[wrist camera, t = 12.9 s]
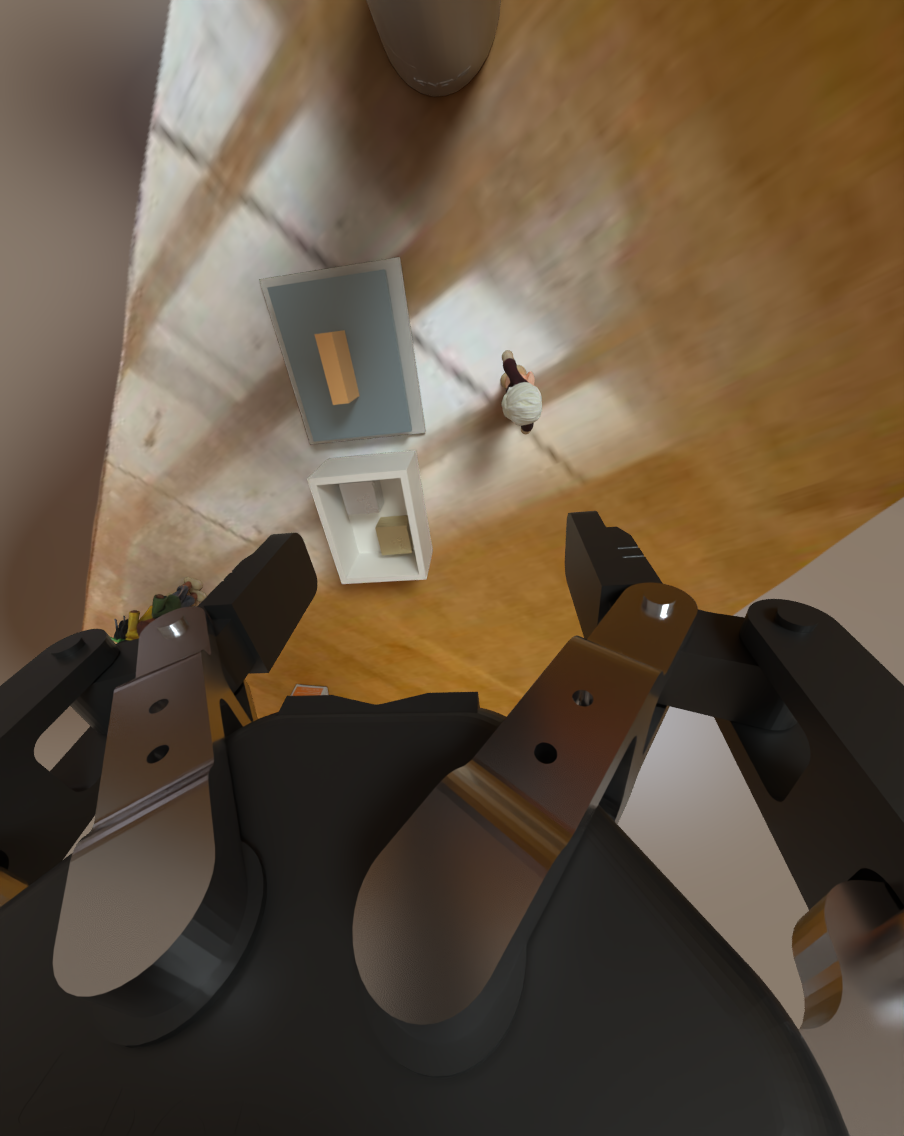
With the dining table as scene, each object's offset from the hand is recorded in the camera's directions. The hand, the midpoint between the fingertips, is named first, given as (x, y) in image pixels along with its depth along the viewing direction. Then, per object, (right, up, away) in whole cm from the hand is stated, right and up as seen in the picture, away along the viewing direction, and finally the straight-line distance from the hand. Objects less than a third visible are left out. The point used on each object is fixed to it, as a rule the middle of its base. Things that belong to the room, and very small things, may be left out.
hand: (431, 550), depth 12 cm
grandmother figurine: (+8, +19, +30) cm, 37 cm away
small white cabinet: (-8, +7, +39) cm, 41 cm away
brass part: (-7, +5, +40) cm, 41 cm away
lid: (-10, +21, +30) cm, 38 cm away
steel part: (-10, +9, +37) cm, 40 cm away
